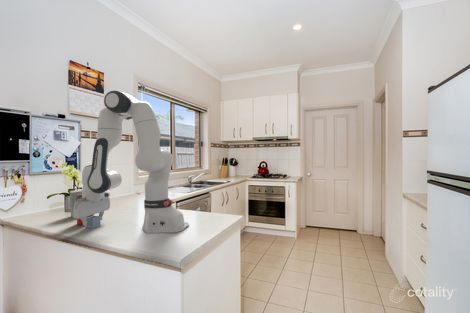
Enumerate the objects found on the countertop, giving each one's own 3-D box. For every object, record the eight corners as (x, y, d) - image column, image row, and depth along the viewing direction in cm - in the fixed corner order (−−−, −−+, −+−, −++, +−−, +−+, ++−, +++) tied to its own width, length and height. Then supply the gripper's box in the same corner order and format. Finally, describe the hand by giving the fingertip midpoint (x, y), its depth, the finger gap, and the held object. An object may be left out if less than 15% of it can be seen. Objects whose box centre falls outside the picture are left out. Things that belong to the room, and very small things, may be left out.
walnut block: (93, 202, 126) (93, 193, 126) (84, 204, 120) (84, 195, 120) (84, 202, 127) (84, 193, 127) (76, 204, 121) (75, 194, 121)
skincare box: (85, 213, 145) (85, 188, 145) (88, 215, 140) (88, 189, 140) (69, 216, 139) (69, 190, 139) (72, 218, 134) (71, 191, 134)
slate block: (100, 225, 120) (100, 216, 119) (93, 228, 115) (93, 218, 115) (93, 225, 120) (92, 215, 120) (85, 227, 116) (85, 218, 116)
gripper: (80, 200, 107) (80, 229, 107) (112, 192, 127) (112, 217, 127) (69, 199, 108) (69, 228, 108) (102, 192, 128) (102, 217, 128)
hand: (93, 222), depth 118 cm, fingers open, 8 cm apart
